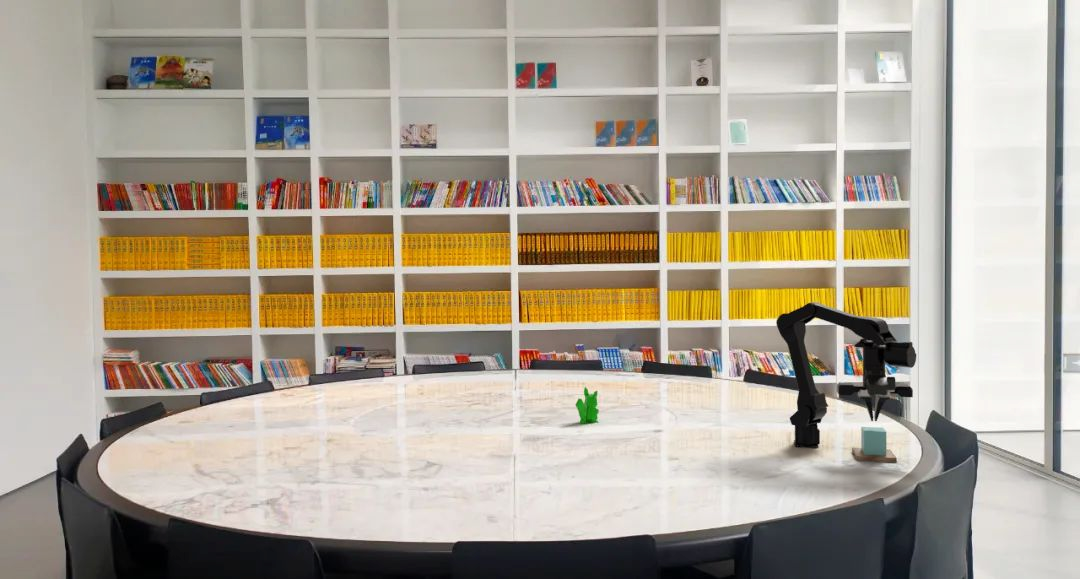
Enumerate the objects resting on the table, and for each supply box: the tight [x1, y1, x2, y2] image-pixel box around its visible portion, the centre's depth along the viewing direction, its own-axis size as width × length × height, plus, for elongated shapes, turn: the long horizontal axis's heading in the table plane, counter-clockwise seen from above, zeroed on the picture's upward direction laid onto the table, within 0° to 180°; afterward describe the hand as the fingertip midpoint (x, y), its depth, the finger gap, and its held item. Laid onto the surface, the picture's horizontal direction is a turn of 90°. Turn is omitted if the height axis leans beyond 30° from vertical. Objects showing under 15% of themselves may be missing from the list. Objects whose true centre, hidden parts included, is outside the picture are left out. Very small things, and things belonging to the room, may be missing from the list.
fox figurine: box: [575, 386, 600, 425], centre depth 264 cm, size 6×10×12 cm, turn 134°
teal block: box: [860, 426, 887, 456], centre depth 213 cm, size 6×6×6 cm
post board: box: [851, 447, 898, 463], centre depth 213 cm, size 10×10×6 cm
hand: (873, 420), depth 213 cm, fingers closed
